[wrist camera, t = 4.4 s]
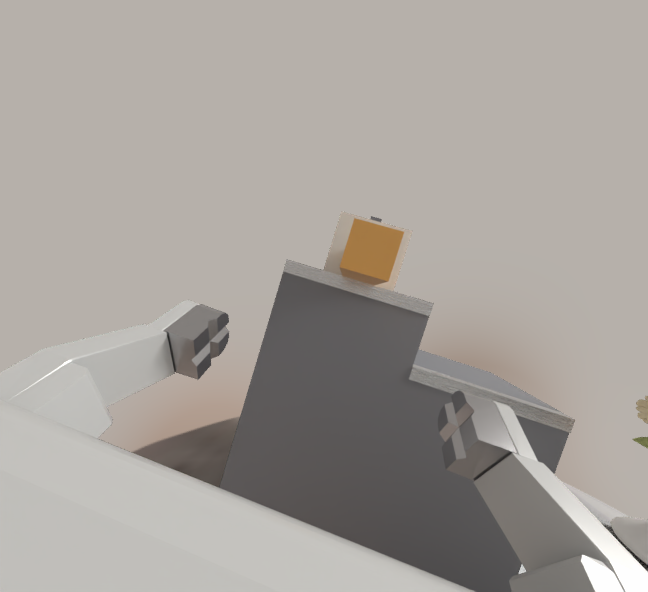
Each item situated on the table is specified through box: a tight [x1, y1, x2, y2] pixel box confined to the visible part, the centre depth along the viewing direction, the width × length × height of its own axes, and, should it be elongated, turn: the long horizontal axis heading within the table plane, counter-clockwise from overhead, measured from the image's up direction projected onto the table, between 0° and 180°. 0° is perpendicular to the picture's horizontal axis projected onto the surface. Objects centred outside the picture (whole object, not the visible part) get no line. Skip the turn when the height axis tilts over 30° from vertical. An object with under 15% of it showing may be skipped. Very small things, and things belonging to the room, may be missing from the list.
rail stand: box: [219, 260, 575, 592], centre depth 28 cm, size 12×28×26 cm, turn 84°
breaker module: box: [324, 212, 412, 291], centre depth 23 cm, size 19×7×8 cm, turn 174°
